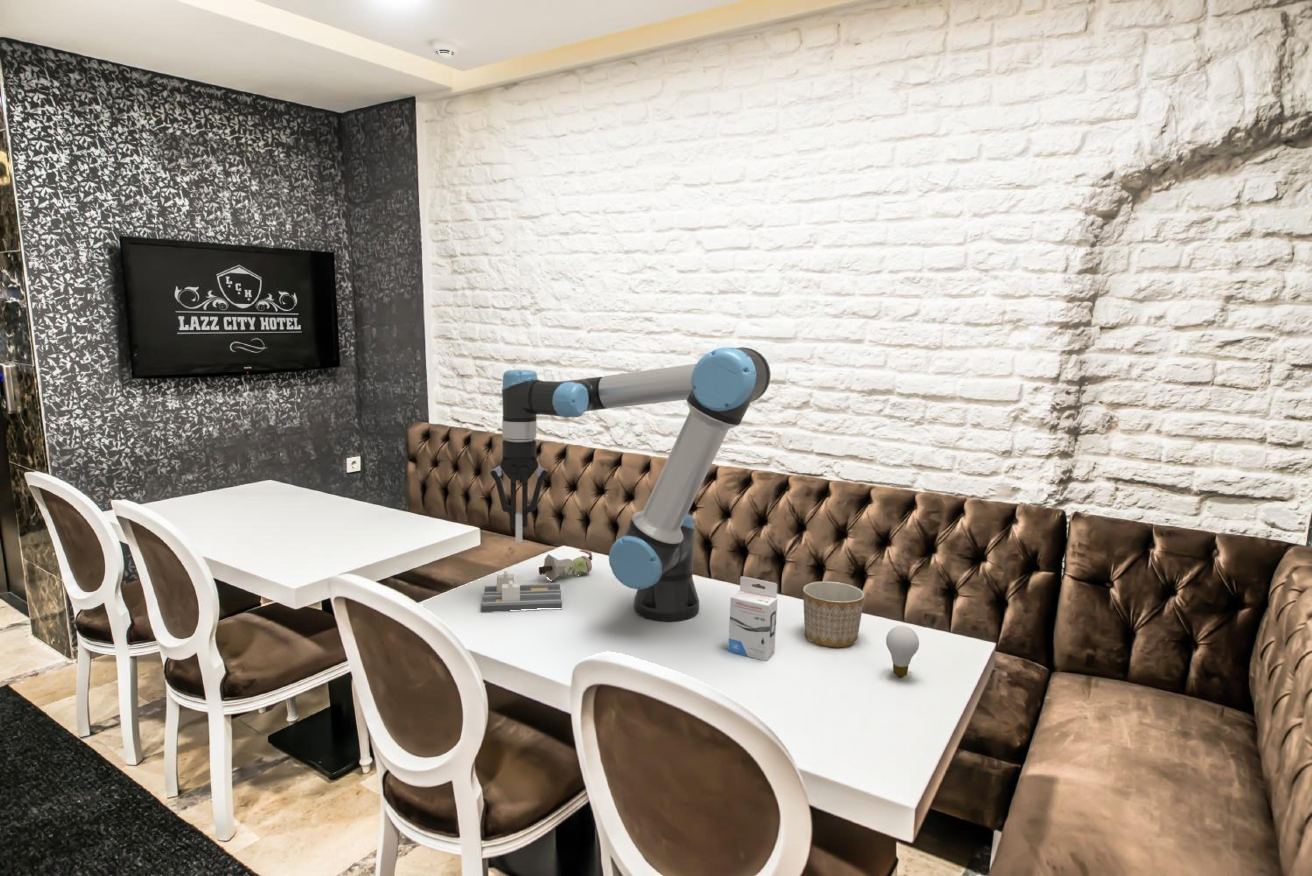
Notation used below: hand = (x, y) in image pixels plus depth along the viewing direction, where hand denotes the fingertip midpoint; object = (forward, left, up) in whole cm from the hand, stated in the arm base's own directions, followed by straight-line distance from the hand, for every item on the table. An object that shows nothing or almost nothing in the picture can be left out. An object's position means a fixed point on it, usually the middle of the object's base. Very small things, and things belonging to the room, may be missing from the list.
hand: (519, 541), depth 172 cm
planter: (-66, +26, -16) cm, 72 cm away
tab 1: (+3, -6, -14) cm, 16 cm away
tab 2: (+2, +1, -14) cm, 14 cm away
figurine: (-12, -19, -16) cm, 28 cm away
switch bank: (-1, -3, -16) cm, 16 cm away
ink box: (-47, +31, -16) cm, 58 cm away
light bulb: (-72, +45, -16) cm, 86 cm away
